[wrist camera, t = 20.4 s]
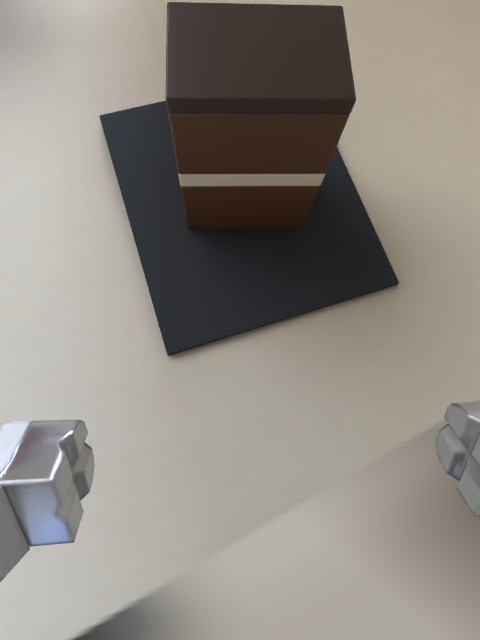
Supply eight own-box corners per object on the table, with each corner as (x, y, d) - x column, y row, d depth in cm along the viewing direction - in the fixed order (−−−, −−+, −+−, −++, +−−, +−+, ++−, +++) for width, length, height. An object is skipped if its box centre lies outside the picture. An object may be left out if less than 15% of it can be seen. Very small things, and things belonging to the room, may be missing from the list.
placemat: (396, 285, 20) (399, 283, 20) (168, 355, 18) (167, 354, 18) (300, 74, 23) (301, 70, 23) (100, 119, 22) (99, 115, 22)
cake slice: (303, 227, 20) (357, 99, 12) (187, 229, 20) (165, 98, 12) (297, 161, 21) (343, 4, 13) (187, 162, 21) (166, 0, 13)
